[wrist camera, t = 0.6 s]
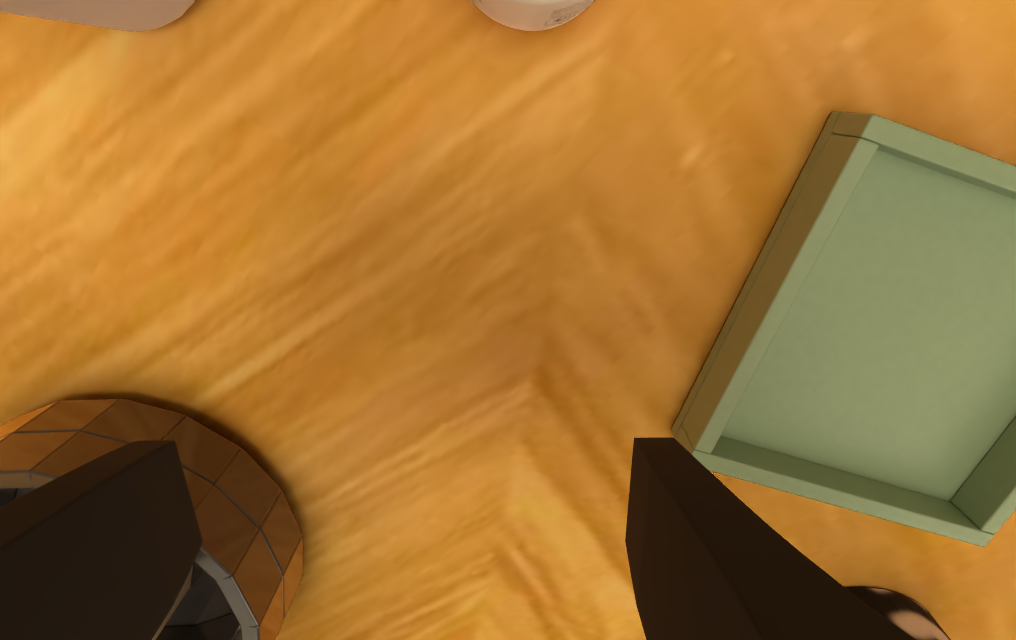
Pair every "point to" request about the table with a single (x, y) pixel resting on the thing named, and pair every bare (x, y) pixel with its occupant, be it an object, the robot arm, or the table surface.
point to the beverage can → (102, 12)
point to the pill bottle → (532, 12)
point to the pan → (216, 500)
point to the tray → (876, 337)
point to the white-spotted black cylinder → (902, 612)
